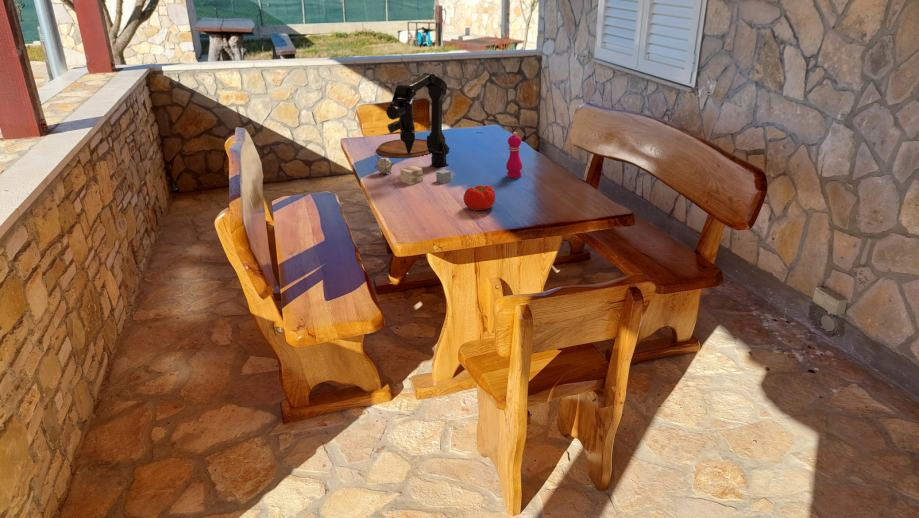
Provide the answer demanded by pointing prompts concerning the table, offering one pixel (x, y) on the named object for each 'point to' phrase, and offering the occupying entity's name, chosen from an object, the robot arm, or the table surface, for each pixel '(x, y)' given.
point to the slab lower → (411, 180)
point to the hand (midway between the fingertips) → (408, 150)
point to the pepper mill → (514, 157)
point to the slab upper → (411, 172)
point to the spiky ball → (384, 165)
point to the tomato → (479, 197)
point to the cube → (443, 176)
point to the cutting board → (403, 149)
